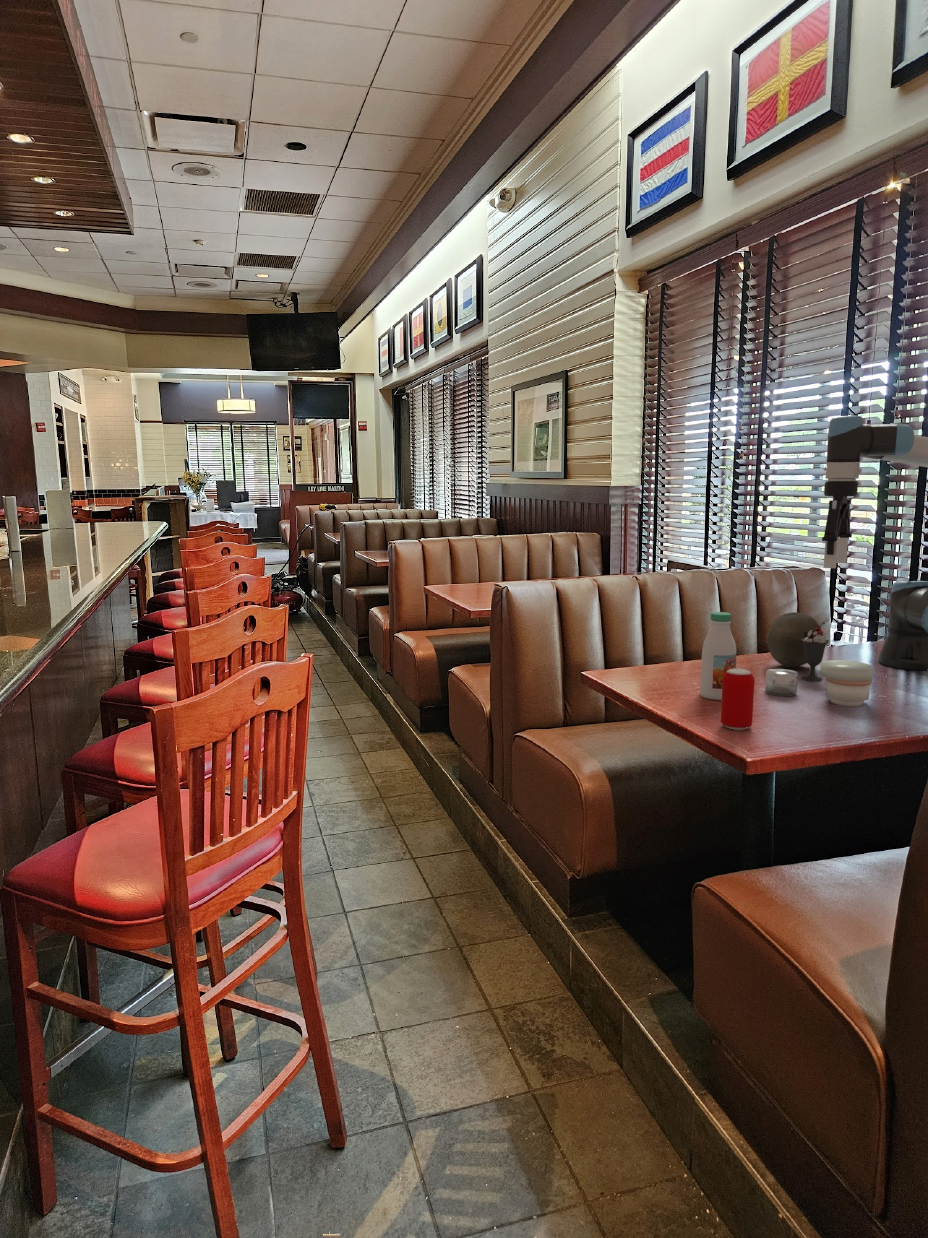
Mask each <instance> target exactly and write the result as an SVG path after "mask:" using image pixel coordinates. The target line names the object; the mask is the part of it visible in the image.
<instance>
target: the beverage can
mask: <svg viewBox="0 0 928 1238" xmlns="http://www.w3.org/2000/svg"><path fill="white" fill-rule="evenodd" d="M755 681H756V680H755V677H754V675H753V672H752V671H750V670H748V669H743V668H736V669H729V670H727V671H726V673H725V674H724V676H723V682H722V700H721V707H720V723H721V725H722V726H724V727H725V728H727V729H728V728H730V729H729V730H731V729H733V731H746V730H747V729H749V728H751V727H752V725H753V715H754V713H753V712H754V695H755ZM746 727H747V728H746ZM745 729H746V730H745Z"/></svg>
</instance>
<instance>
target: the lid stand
mask: <svg viewBox="0 0 928 1238" xmlns="http://www.w3.org/2000/svg"><path fill="white" fill-rule="evenodd" d="M798 677H799V673H798V671H795V670H792V669H784V668H770V669H767V670H766V673H765V686H764V688H765V690H764V692H765V693H766V694H768V695H771V694H772V695H771V696H776V697H794V696H796V695H797V692H798V680H799V679H798Z"/></svg>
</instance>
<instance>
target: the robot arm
mask: <svg viewBox="0 0 928 1238" xmlns="http://www.w3.org/2000/svg"><path fill="white" fill-rule="evenodd" d="M861 458H868V459H872V460H880V461H881V460H882V461H885V462H886V461H887V462H892V463H898V464H905V465H910V466H915V467H916V466H917V467H924V468H928V436H922V435H915V431H914V429H913V427H912V426H911V425H910V424H902V423H901V424H900V423H886V424H884V423H883V424H882V423H881V424H867V423H864V418H863V416H861V415H842V416H841V415H839V416H835V417H832V418H831V419H830V421H829V426H828V432H827V452H826V464H825V465H826V466H824V467H823V468H822V469H823V471H825V479H826V480H827V481H825V482H824V491H823V495H824V496H826V497H832V500H829V501H828V511H827V518H826V524H825V529H824V535H823V537H821V540H822V542H825V543H824V557H823V568H825V569H836V568H837V564H847V559H848V545H849V538H852V536H853V533H851V509H850V508H851V499H849V498H848V497H857V495H858V489H859V482H858V481H857V479H860V467H861V465H860V463H861ZM889 595H890V598H889V599H890V600H889V601H890V604H889V614H888V626H887V635H886V637H885V639H884V642H883V645H882V648H881V650H880V651H879V652H878V659H877V660H878V661H877V662H879V664H881V663H882V664H881V665H885V666H888V667H891V668H896V669H905V670H915V671H928V580H927V581H926V580H921V581H919V580H913V581H912V580H911V581H910V580H904V581H903V580H900V581H899V580H898V581H895V582H893V584H892V586H891V591H890V593H889Z"/></svg>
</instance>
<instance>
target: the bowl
mask: <svg viewBox="0 0 928 1238" xmlns="http://www.w3.org/2000/svg"><path fill="white" fill-rule="evenodd" d="M824 679H825V681H826V683H825V684H826V686H825V695H826V696H827V697H828V698H829V702H830V701H831V702H830V703H831V704H834V705H837V704H838V705H839V706H843V707H861V706H864V703H865V702H866V701H868V700H870V689H871V688H870V687H871V685H872V683H873V679H872V680H870V681H865V682H847V681H838V680H833V679H828V678H825V677H824Z"/></svg>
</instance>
